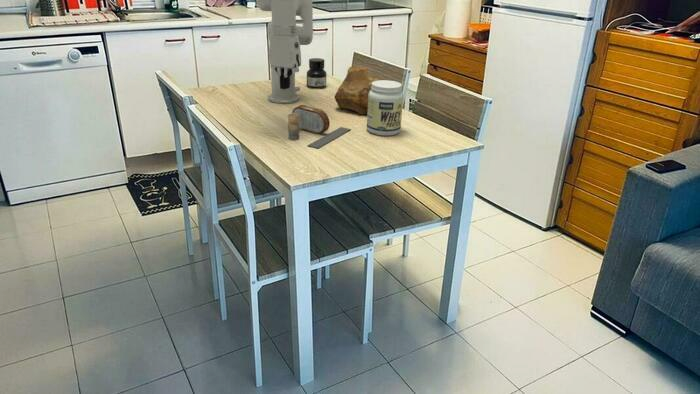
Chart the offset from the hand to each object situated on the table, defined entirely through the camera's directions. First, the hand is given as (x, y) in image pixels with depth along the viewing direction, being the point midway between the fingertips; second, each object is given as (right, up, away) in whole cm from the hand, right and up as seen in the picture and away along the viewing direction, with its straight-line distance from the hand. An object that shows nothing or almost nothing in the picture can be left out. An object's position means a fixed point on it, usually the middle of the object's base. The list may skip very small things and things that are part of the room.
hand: (284, 88), depth 177 cm
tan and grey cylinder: (+3, -16, +2) cm, 17 cm away
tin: (+8, -13, +9) cm, 18 cm away
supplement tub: (+34, -13, +12) cm, 38 cm away
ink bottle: (+7, +13, +63) cm, 65 cm away
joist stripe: (+15, -16, +3) cm, 22 cm away
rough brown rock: (+24, -1, +35) cm, 42 cm away
